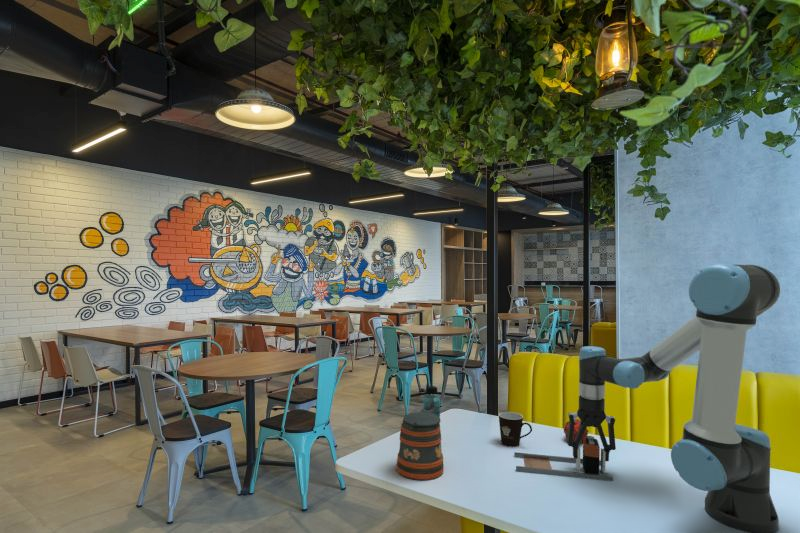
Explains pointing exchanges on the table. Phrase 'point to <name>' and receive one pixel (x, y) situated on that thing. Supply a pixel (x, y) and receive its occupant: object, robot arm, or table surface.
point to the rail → (543, 466)
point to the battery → (591, 455)
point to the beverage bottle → (436, 400)
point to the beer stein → (421, 445)
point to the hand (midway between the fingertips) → (590, 469)
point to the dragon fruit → (575, 430)
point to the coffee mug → (511, 428)
